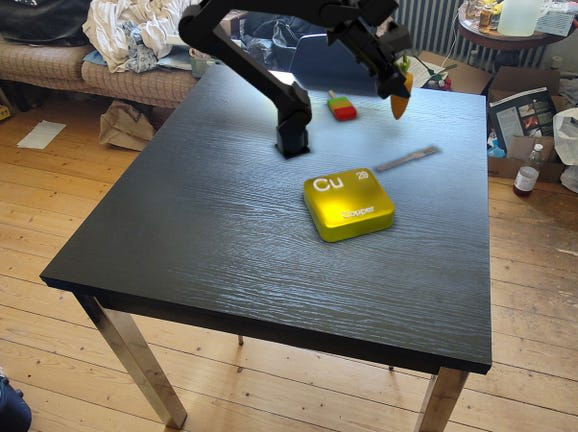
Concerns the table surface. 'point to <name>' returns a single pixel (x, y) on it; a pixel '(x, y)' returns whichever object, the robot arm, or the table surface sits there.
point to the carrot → (401, 103)
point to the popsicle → (341, 107)
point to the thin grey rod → (408, 158)
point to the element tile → (348, 204)
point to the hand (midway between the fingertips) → (406, 91)
